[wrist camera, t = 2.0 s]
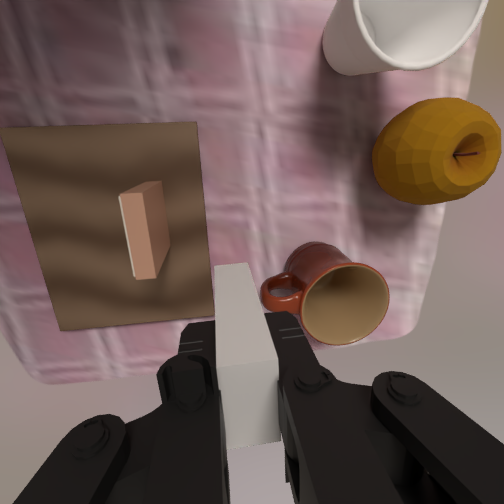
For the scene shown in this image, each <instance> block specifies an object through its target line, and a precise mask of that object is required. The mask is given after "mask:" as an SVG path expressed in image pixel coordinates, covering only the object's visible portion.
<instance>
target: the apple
mask: <svg viewBox="0 0 504 504" xmlns="http://www.w3.org/2000/svg"><path fill="white" fill-rule="evenodd" d="M500 155H501V129H500V128H499V126H498V125H497V123H496V122H495V120H494V119H493V118H492V116H491V115H490V114H489V113H488V112H487V111H485V110H483V109H482V108H481V107H479V106H477V105H474V104H472V103H470V102H467V101H465V100H462V99H460V98H435V99H427V100H424V101H420V102H417V103H415V104H413V105H412V106H410V107H408V108H407V109H405V110H404V111H402V112H401V113H400V114H398V115H397V116H395V117H394V118H393V119H392V120H391V121H390V122H389V123H388V124H387V125H386V126H385V127H384V128H383V130H382V131H381V133H380V134H379V136H378V138H377V140H376V143H375V145H374V148H373V150H372V163H373V169H374V174H375V178H376V180H377V182H378V184H379V185H380V187H381V188H382V189H383V190H384V191H385V192H386V193H387V194H389V195H390V196H392V197H394V198H396V199H397V200H399V201H404V202H408V203H412V204H418V205H431V204H437V203H443V202H447V201H452V200H457V199H460V198H463V197H465V196H467V195H468V194H470V193H471V192H473V191H474V190H476V189H478V188H479V187H481V186H482V185H484V184H485V183H486V182H487V181H488V179H489V178H490V177H491V175H492V174H493V173H494V171H495V169H496V166H497V163H498V161H499V158H500Z"/></svg>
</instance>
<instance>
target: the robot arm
mask: <svg viewBox="0 0 504 504" xmlns="http://www.w3.org/2000/svg"><path fill="white" fill-rule="evenodd" d="M214 271H215V320H213V321H205V322H196V323H189V324H188V325H187V326H186V327H185V329H184V330H183V331H182V332H181V337H180V345H179V349H178V355H176V356H174V357H172V358H170V359H168V360H167V361H166V362H165V363H164V364H163V365H162V366H161V367H160V369H159V370H158V372H157V374H156V375H157V380H158V385H159V390H160V395H161V400H162V404H161V405H160V406H159V407H158V408H157V409H155V410H154V411H152V412H151V413H149V414H147V415H145V416H143V417H141V418H138V419H136V420H133V421H131V422H128V423H126V424H125V423H124V422H123V421H122V420H121V418H120V417H118V416H115V415H111V414H106V415H97V416H95V417H93V418H90V419H87V420H85V421H83V422H82V423H80V424H79V425H77V426H76V427H74V428H73V429H72V430H71V431H70V432H69V433H68V434H67V435H66V436H65V437H64V438H63V439H62V440H61V441H60V443H59V444H58V445H57V447H56V448H55V449H54V450H53V452H52V453H51V454H50V456H49V457H48V458H47V460H46V461H45V462H44V464H43V465H42V466H41V467H40V469H39V470H38V471H37V473H36V474H35V475H34V477H33V478H32V479H31V480H30V482H29V483H28V485H27V486H26V487H25V488H24V490H23V491H22V492H21V493H20V495H19V496H18V498H17V499H16V500H15V501H14V503H13V504H230V489H229V472H228V463H227V450H229V449H236V448H241V447H248V446H254V445H260V444H266V443H271V442H278V441H281V433H282V438H283V442H284V446H285V473H286V474H285V476H286V483H287V482H290V485H291V490H292V494H293V498H294V502H295V504H504V444H503V443H501V442H500V441H499V440H498V439H496V438H495V437H494V436H492V435H491V434H490V433H488V432H487V431H486V430H485V429H483V428H482V427H481V426H480V425H478V424H477V423H476V422H474V421H473V420H472V419H471V418H469V417H468V416H467V415H466V414H464V413H463V412H462V411H460V410H459V409H458V408H457V407H455V406H454V405H453V404H451V403H450V402H449V401H447V400H446V399H445V398H444V397H442V396H441V395H440V394H439V393H437V392H436V391H435V390H433V389H432V388H431V387H430V386H428V385H427V384H426V383H424V382H423V381H421V380H419V379H418V378H416V377H415V376H412V375H409V374H406V373H403V372H395V371H389V372H384V373H381V374H379V375H378V376H376V377H375V379H374V381H373V384H372V386H365V385H357V384H350V383H345V382H342V381H339V380H337V379H336V378H335V376H334V375H333V374H332V373H331V372H330V371H329V370H328V369H326V368H324V367H323V366H321V365H320V364H319V362H318V360H317V358H316V356H315V354H314V353H313V350H312V348H311V346H310V344H309V342H308V340H307V338H306V336H305V335H304V332H303V330H302V329H301V327H300V325H299V323H298V321H297V319H296V317H294V316H293V315H292V314H290V313H289V312H288V311H280V312H272V313H263V309H262V306H261V303H260V300H259V297H258V294H257V291H256V287H255V284H254V281H253V278H252V275H251V272H250V269H249V265H248V262H247V263H237V264H227V265H217V266H214Z"/></svg>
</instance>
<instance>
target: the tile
mask: <svg viewBox="0 0 504 504" xmlns="http://www.w3.org/2000/svg"><path fill="white" fill-rule="evenodd" d="M118 197H119V203H120V208H121V213H122V218H123V223H124V229H125V234H126V239H127V244H128V249H129V255H130V260H131V265H132V270H133V276H134V277H136V280H141V279H153V278H156V277H157V275H158V273H159V270H160V268H161V266H162V264H163V261H164V259H165V257H166V254H167V252H168V250H169V248H170V245H171V244H170V237H169V230H168V223H167V216H166V209H165V201H164V194H163V187H162V181H149V182H144V183H142V184H140V185H138V186H136V187H133V188H131V189H129V190H127V191H125V192H123V193H121V194H120V196H118Z"/></svg>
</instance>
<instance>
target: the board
mask: <svg viewBox="0 0 504 504" xmlns="http://www.w3.org/2000/svg"><path fill="white" fill-rule="evenodd" d="M0 134H1V138H2V141H3V144H4V148H5V151H6V154H7V157H8V161H9V164H10V167H11V171H12V174H13V177H14V180H15V184H16V187H17V190H18V194H19V197H20V200H21V203H22V207H23V210H24V213H25V217H26V220H27V223H28V226H29V230H30V233H31V236H32V240H33V243H34V246H35V249H36V253H37V256H38V259H39V263H40V266H41V269H42V272H43V276H44V279H45V282H46V286H47V289H48V292H49V295H50V299H51V302H52V305H53V309H54V312H55V315H56V318H57V322H58V325H59V328H60V331H67V330H76V329H86V328H96V327H106V326H115V325H125V324H135V323H145V322H154V321H164V320H174V319H183V318H193V317H203V316H213V315H215V311H214V300H213V289H212V279H211V268H210V257H209V247H208V236H207V226H206V215H205V204H204V194H203V183H202V173H201V162H200V151H199V141H198V130H197V122H168V123H136V124H105V125H73V126H41V127H9V128H0ZM149 181H162V187H163V194H164V201H165V209H166V216H167V223H168V230H169V237H170V244H171V245H170V248H169V250H168V252H167V254H166V257H165V259H164V261H163V264H162V266H161V268H160V270H159V273H158V275H157V277H156V278H153V279H141V280H136V277H134V276H133V270H132V265H131V260H130V255H129V249H128V244H127V239H126V234H125V229H124V223H123V218H122V213H121V208H120V203H119V197H118V196H120V194H121V193H123V192H125V191H127V190H129V189H131V188H133V187H136V186H138V185H140V184H142V183H144V182H149Z"/></svg>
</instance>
